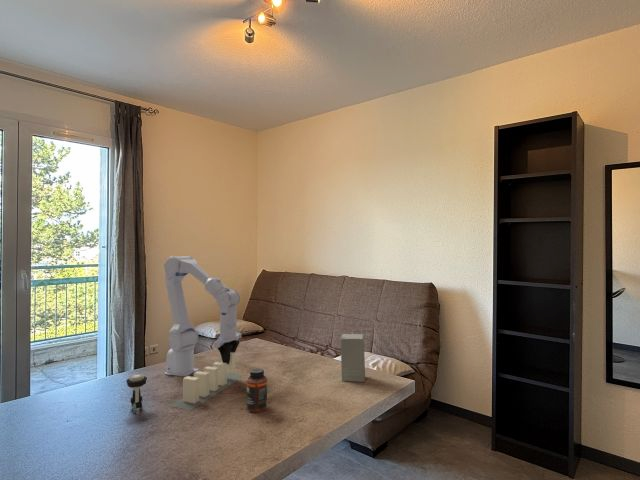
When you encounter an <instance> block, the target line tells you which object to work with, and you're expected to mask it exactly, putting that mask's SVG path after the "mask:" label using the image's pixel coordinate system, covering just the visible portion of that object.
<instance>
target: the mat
mask: <svg viewBox="0 0 640 480" xmlns="http://www.w3.org/2000/svg"><path fill="white" fill-rule="evenodd" d="M244 377H245V375H242V374H237V373H233V374H229V373H227V384H225V385H224V386H222V385H218V389H217V390H216V391H210V390H209V395H208V396H206V397H201V396H199V401H198V402H197V403H189V402H183V397H182V398H180V399H178V400H177V401H174V402H173V403H172V404H170V405H169V407H171V408H176V409H182V410H187V411H192V410H194V409H196V408H197V407H198V406H200V405H201V404H203V403H206V401H208V400H209V399H211V398H213V397H214V396H215V395H217V394H219V393H220V392H222V391H223V390H225V389H227V388H228V387H230V386H231V385H233V384H235V383H236V382H237V381H239V380H241V379H243V378H244Z"/></svg>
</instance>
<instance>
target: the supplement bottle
mask: <svg viewBox="0 0 640 480" xmlns="http://www.w3.org/2000/svg"><path fill="white" fill-rule="evenodd" d="M249 374H250V376H249V377H247V379H246V410H247V411H249V412H250V413H261V412H263V411H265V410H267V408H268V379H267V377H266V376H265V370H264V368H260V367H257V368H256V367H255V368H251V369H250V371H249Z"/></svg>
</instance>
